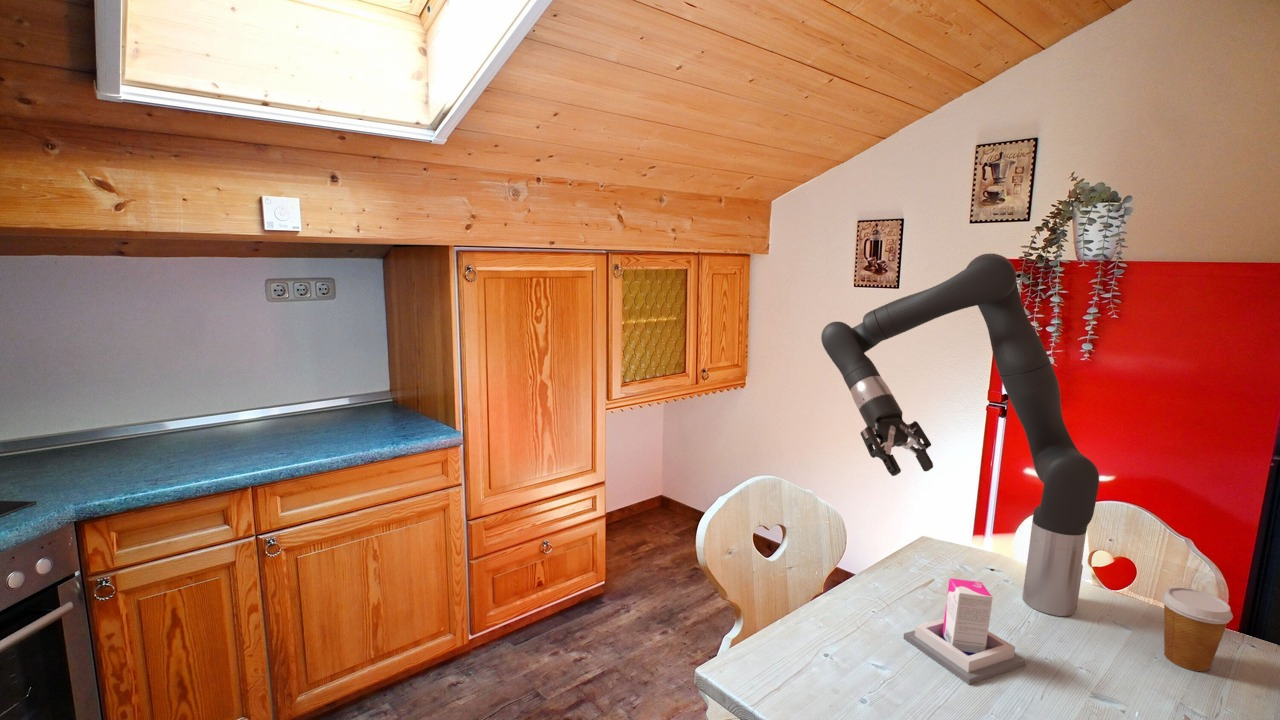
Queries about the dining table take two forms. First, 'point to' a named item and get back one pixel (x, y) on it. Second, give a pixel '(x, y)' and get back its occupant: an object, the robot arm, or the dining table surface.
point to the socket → (964, 666)
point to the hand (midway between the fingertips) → (913, 471)
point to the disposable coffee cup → (1193, 627)
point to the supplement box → (967, 616)
